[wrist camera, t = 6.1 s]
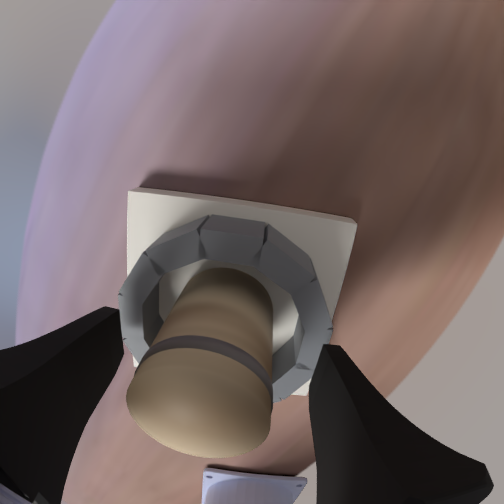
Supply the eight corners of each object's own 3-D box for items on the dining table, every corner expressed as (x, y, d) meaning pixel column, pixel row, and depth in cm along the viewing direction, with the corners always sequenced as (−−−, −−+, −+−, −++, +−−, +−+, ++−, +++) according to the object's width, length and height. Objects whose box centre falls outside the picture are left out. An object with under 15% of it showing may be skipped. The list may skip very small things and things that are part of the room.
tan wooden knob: (262, 357, 14) (254, 467, 8) (175, 337, 14) (129, 438, 8) (284, 278, 12) (291, 385, 7) (183, 256, 12) (120, 346, 7)
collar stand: (305, 382, 15) (309, 424, 13) (140, 355, 16) (120, 391, 13) (351, 218, 12) (373, 240, 10) (138, 187, 12) (103, 200, 10)
